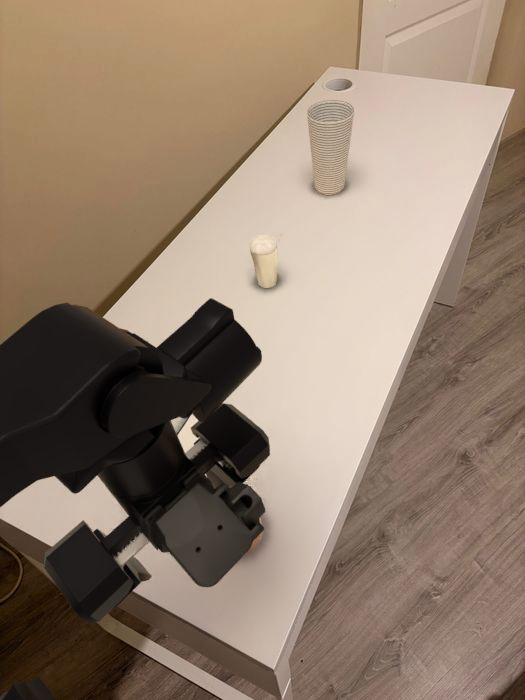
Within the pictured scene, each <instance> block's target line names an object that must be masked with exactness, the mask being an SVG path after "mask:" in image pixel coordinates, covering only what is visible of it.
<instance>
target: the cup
mask: <svg viewBox="0 0 525 700" xmlns="http://www.w3.org/2000/svg"><path fill="white" fill-rule="evenodd" d="M354 116H355V109H354V106H353V105H352V104H350V103H349V102H346V101H344V100H338V99H330V100H329V99H328V100H323V101H319V102H316V103H314V104H311V106H310V107H309V108H308V109H307V112H306V119H307V128H308V136H309V137H308V138H309V145H310V156H311V164H312V173H313V184H314V189H315V190H316V192H317V193H320V194H321V195H327V196H329V195H330V196H331V195H332V196H333V195H336V194H339V193H341V192H342V191H343V189H345V183H346V177H347V169H348V162H349V161H348V160H349V154H350V146H351V145H350V144H351V138H352V131H353V124H354Z"/></svg>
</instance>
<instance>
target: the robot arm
mask: <svg viewBox="0 0 525 700" xmlns="http://www.w3.org/2000/svg"><path fill="white" fill-rule="evenodd" d="M262 361H263V354H262V349H261V348H260V347H258V346H257V345H256V342H255V341H254V339H253V338H252V336H251V335H250V334H249V333H248V331H247V330H246V329H245V327H243V326H242V324H240V323H239V321H237V320H236V319H235V314H234V309H233V308H231V307H229V306H227V305H226V304H223V303H222V302H219V301H218V300H216V299H215V298H208V299H207V300H206V301H205V302H203V304H201V306H199V307H198V308H197V310H195V312H194V313H193V314H192V315H191V317H189V318H188V319H187V320H186V321H185V322H184V323H183V324H181V325H180V326H179V328H176V330H175V331H173V332H172V333H171V334H170V335H169V336H168V337H167V338H166V339H164V340H163V341H161V343H160V344H159V345H157V346H155V345H153V344H152V343H150V342H149V341H148V340H146V339H144V338H142V337H141V336H140V335H138V334H136V333H132V332H131V331H129V330H128V329H125V328H121V327H118V326H116V325H115V324H114V323H112V322H111V321H109V320H107V319H106V318H105V317H103V316H102V315H100V314H98V312H95V311H94V310H92V309H91V308H89V307H88V306H83V305H77V304H71V303H69V302H63V303H62V302H61V303H58V304H54V305H52V306H50V307H47V308H45V309H43V310H41V311H40V312H38V313H37V314H35V315H34V316H33V317H31V319H29V320H28V321H27V322H26V323H24V324H23V325H22V326H21V327H20V328H19V329H18V330H16V331H15V332H14V333H12V334H11V335H9V337H8V338H7V339H5V340H4V341H3V342H2V343H1V344H0V508H1V507H3V506H4V505H6V504H7V503H8V502H9V501H10V500H12V499H13V498H14V497H15V496H17V495H19V493H21V492H23V491H24V490H26V489H27V488H29V487H30V486H31V485H33V484H35V483H36V482H38V481H40V480H44V479H49V478H52V477H53V478H54V477H55V478H56V479H57V480H58V481H59V482H60V483H61V484H62V485H63V486H64V487H65V488H66V489H67V490H68V491H69V492H70V493H72V494H74V495H76V494H78V493H79V494H80V492H82V491H83V490H84V489H85V488H86V487H87V486H88V485H89V484H90V483H91V482H92V481H94V479H95V478H97V477H98V478H99V479H100V481H101V482H102V483H103V485H104V486H105V487H106V489H107V490H108V491H109V492H110V494H111V495H112V497H113V498H114V499H115V501H117V503H118V504H119V505H120V507H121V508H122V509H123V511H124V512H125V513H126V514H127V517H126V518H125V519H124V520H123V521H122V522H120V523H119V524H118V525H117V526H116V527H115V528H114V529H112V530H111V531H110V532H109V533H107V534H105V533H104V532H102V531H101V530H100V529H99V528H95V529H94V530H93V529H92V527H90V525H89V523H87V522H86V521H85V520H84V519H83V520H82V521H79V523H78V524H77V525H75V526H74V528H72V529H70V531H69V532H67V534H65V535H64V536H63V537H62V538H60V540H59V539H58V541H57V542H56V543H55V544H54V545H52V546H51V547H50V548H49V549H48V550H47V551H45V553H44V561H43V562H44V563H43V568H44V570H45V572H46V573H47V574H48V576H49V577H50V578H51V580H52V581H53V583H54V584H55V586H56V587H57V588H58V590H59V591H60V593H61V594H62V596H63V598H64V599H65V600H66V602H67V603H68V605H69V606H70V607H71V609H72V610H73V611H74V613H76V615H77V616H78V617H79V618H81V619H82V620H84V621H86V622H87V623H100V622H101V621H102V620H103V619H104V618H105V617H106V616H107V615H108V614H109V613H110V612H111V611H112V610H115V609H116V608H117V607H118V606H119V605H120V604H121V603H122V602H123V601H124V600H125V599H126V598H127V597H128V596H129V595H130V594H131V593H132V592H133V591H134V590H135V589H137V587H139V586H140V584H141V583H143V582H147V581H150V580H151V579H152V577H153V576H152V574H151V573H150V572H149V571H148V570H147V568H146V567H145V566H144V565H143V564H142V563H141V561H140V560H139V559H138V558H136V557H135V556H136V555H137V554H138V553H139V552H140V551H142V549H144V548H145V546H146V545H148V544H149V543H150V544H151V546H153V547H154V548H155V550H156V551H158V550H159V552H160V553H163V554H165V553H169V554H170V555H171V557H172V558H173V559H174V560H175V561H176V563H177V564H178V565H179V566H180V567H181V568H182V569H183V571H184V572H185V573H186V574H187V575H188V576H189V578H190V579H191V580H192V581H193V582H194V584H195V585H197V586H198V587H201V588H212V587H214V586H216V585H217V584H218V583H219V582H220V581H222V579H223V578H224V577H225V576H226V575H227V574H228V573H229V572H230V571H231V570H232V568H233V567H235V566H236V564H237V563H238V562H240V560H241V559H242V558H243V557H245V555H246V554H247V551H248V550H249V549H250V548H251V546H252V542H253V541H254V540H255V539H256V538H257V537H258V536H259V535H260V534H261V532H262V533H263V532H264V531H265V526H264V525H263V523H262V524H261V523H260V521H259V519H260V518H261V517H263V515H264V514H265V513H266V507H265V503H264V501H263V499H262V497H261V496H260V495H259V494H258V493H257V492H256V490H255V489H253V488H252V486H251V485H249V484H247V483H245V482H246V481H247V480H248V479H249V478H250V477H251V476H252V475H253V474H254V473H255V472H256V471H257V470H259V468H260V466H261V465H262V464H263V463H264V462H265V461H266V460H267V459H268V458H269V457H271V444H270V439H269V436H268V435H267V433H266V431H264V429H262V428H261V427H260V426H259V425H258V424H256V423H255V422H254V421H253V420H251V419H250V418H249V417H247V415H245V414H244V413H243V412H242V411H240V410H239V408H238V409H237V407H235V406H234V405H233V404H232V403H224V402H225V401H226V400H227V399H228V398H229V397H230V396H232V394H233V393H234V392H235V391H236V390H237V389H238V388H239V387H240V386H241V385H242V384H243V383H244V382H245V381H246V380H247V379H248V378H249V376H250V375H251V374H253V372H254V371H256V369H257V368H258V367H259V366H260V365H261V364H262ZM191 414H193V415H194V416H195V418H196V419H197V420H198V422H197V423H196V424H194V425H193V426H192V427H191V430H192V433H193V435H195V436H196V437H197V438H199V437H200V438H199V439H198V440H197V441H196V442H195V443H194V446H193V447H192V448H191V449H190V450H188V451H187V452H186V453H185V452H184V450H183V447H182V445H181V443H180V440H179V438H178V436H177V432H176V429H175V426H174V425H173V422H172V421H173V420H175V419H178V418H181V419H184V420H186V419H187V418H188V417H189V416H190V415H191ZM205 474H206V475H207V477H206V476H205ZM0 700H58V699H57V697H56V696H55V694H54V693H53V692H52V691H51V689H50V688H49V687H48V686H47V684H46V683H45V682H44V680H43V679H42V678H41V676H37V677H34V678H33V679H30V680H27V681H18V680H15V681H13V683H12V685H11V686H10V687H9V689H8V690H7V691H5V692H4V693H2V694H1V696H0Z"/></svg>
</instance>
